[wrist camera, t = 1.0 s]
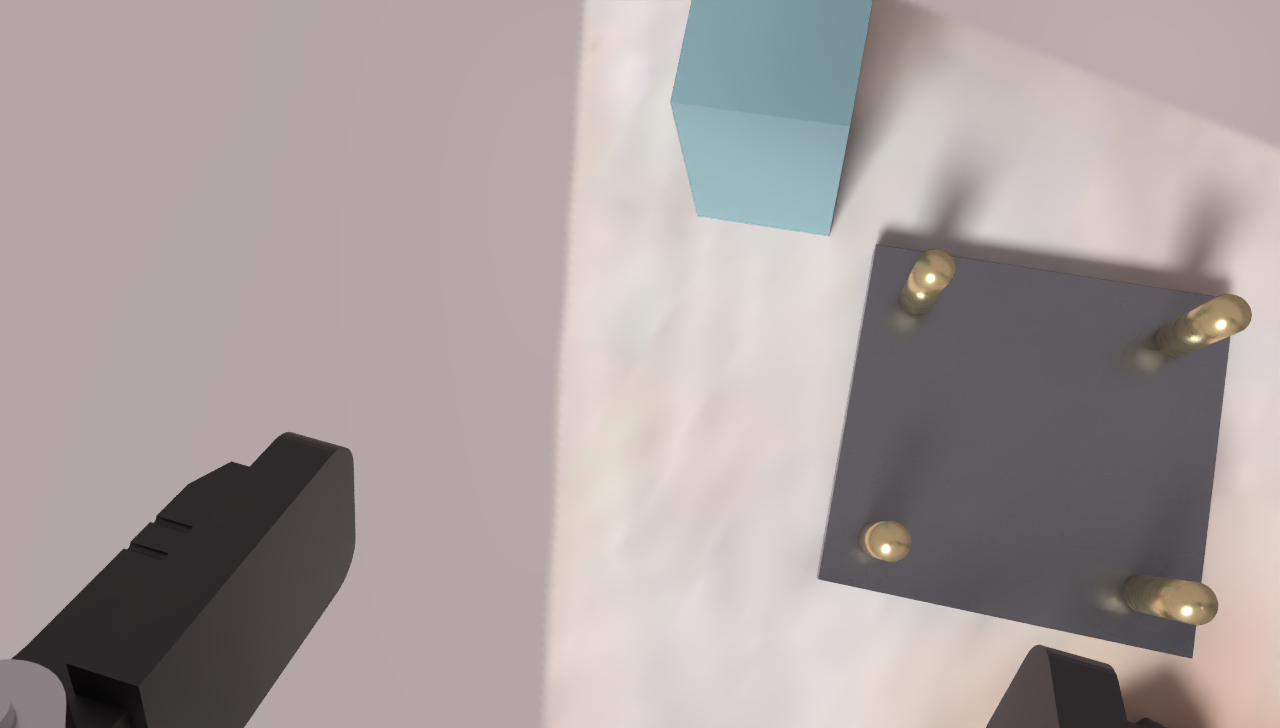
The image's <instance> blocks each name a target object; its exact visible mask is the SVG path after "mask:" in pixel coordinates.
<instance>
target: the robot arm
mask: <svg viewBox="0 0 1280 728" xmlns="http://www.w3.org/2000/svg"><path fill="white" fill-rule="evenodd" d="M353 467H354V466H353V456H352V453H351V451H350V450H349V449H348V448H345V447H342V446H338V445H335V444H331V443H327V442H323V441H320V440H317V439H313V438H310V437H306V436H302V435H299V434H295V433H292V432H286V433H284V434H282V435H281V436H279V437H278V438H277V439H275V440H274V441H273V443H272V444H271V445H270V446H269V447H268V448H267V449H266V450H265V451H264V452H263V453H262V454H261V455H260V456H259V457H258V459H257V460H256V461H255V462H254V463H253V464H252V465H251V466H250V467H248V466H245V465H241V464H238V463H234V462H230V463H228V464H226V465H224V466H222V467H220V468H218V469H217V470H215V471H213V472H211V473H209V474H207V475H205V476H203V477H201V478H199V479H197V480H195V481H194V482H191V483H190V484H188V485H187V486H186V487H185V488H184V489H183V490H182V491H181V492H180V493H179V494H178V495H177V496H176V497H175V498H174V499H173V500H172V501H171V502H170V503H169V504H168V505H167V506H166V507H165V508H164V509H163V510H162V511H161V512H160V513H159V514H158V515H157V517H156V520H155V522H154V523H151V522H150V523H149V524H148V525H147V526H146V527H145V528H144V529H143V530H142V531H141V532H140V533H139V534H138V535H137V536H136V537H135V538H134V539H133V540H132V541H131V543H130V546H129V548H128V549H127V550H126V549H123V550H122V551H121V552H120V553H119V554H118V555H117V556H116V557H115V558H114V559H113V560H112V561H111V562H110V563H109V564H108V565H107V566H106V567H105V568H104V569H103V570H102V571H101V572H100V573H99V574H98V575H97V576H96V577H95V578H94V579H93V580H92V581H91V582H90V583H89V584H88V585H87V586H86V587H85V588H84V589H83V590H82V591H81V592H80V593H79V594H78V595H77V596H76V597H75V598H74V599H73V600H72V601H71V602H70V603H69V604H68V605H67V606H66V607H65V608H64V609H63V610H62V611H61V612H60V613H59V614H58V615H57V616H56V617H55V618H54V619H53V620H52V621H51V622H50V623H49V624H48V625H47V626H46V627H45V628H44V629H43V630H42V631H41V632H40V633H39V634H38V635H37V636H36V637H35V638H34V639H33V640H32V641H31V642H30V643H29V644H28V645H27V646H26V647H25V648H24V649H22V650H21V651H20V652H19V653H18V654H17V655H16V656H14V657H13V658H12V659H10V660H0V728H244V726H245V725H246V724H247V722H248V721H249V719H250V718H251V716H252V715H253V714H254V712H255V711H256V709H257V708H258V706H259V705H260V704H261V702H262V701H263V699H264V698H265V696H266V695H267V693H268V692H269V690H270V689H271V688H272V686H273V685H274V683H275V682H276V680H277V679H278V677H279V676H280V674H281V673H282V672H283V670H284V669H285V667H286V666H287V664H288V663H289V661H290V660H291V659H292V657H293V656H294V654H295V653H296V651H297V650H298V649H299V647H300V645H301V644H302V643H303V641H304V640H305V638H306V637H307V635H308V634H309V632H310V631H311V630H312V628H313V627H314V625H315V624H316V622H317V621H318V619H319V618H320V616H321V615H322V614H323V612H324V611H325V609H326V608H327V607H328V605H329V604H330V602H331V601H332V599H333V598H334V596H335V595H336V593H337V592H338V590H339V589H340V587H341V585H342V583H343V582H344V579H345V577H346V575H347V573H348V570H349V567H350V564H351V561H352V558H353V553H354V548H355V503H354V468H353ZM986 728H1149V727H1146V726H1142V725H1139V724H1135V723H1132V722H1128V721H1127V718H1126V714H1125V709H1124V705H1123V700H1122V696H1121V691H1120V687H1119V682H1118V679H1117V675H1116V673H1115V671H1114V669H1113V668H1112V667H1111V666H1110V665H1109V664H1106V663H1102V662H1099V661H1095V660H1092V659H1088V658H1085V657H1081V656H1077V655H1074V654H1070V653H1067V652H1063V651H1060V650H1056V649H1053V648H1049V647H1045V646H1042V645H1036V646H1035V647H1033V648H1032V649H1031V650H1030V651H1029V653H1028V654H1027V656H1026V658H1025V659H1024V661H1023V663H1022V665H1021V666H1020V668H1019V670H1018V672H1017V673H1016V675H1015V677H1014V679H1013V681H1012V682H1011V684H1010V686H1009V688H1008V689H1007V691H1006V693H1005V695H1004V696H1003V698H1002V700H1001V702H1000V703H999V705H998V707H997V709H996V710H995V712H994V714H993V716H992V717H991V719H990V721H989V723H988V725H987V727H986Z"/></svg>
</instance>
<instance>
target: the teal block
mask: <svg viewBox="0 0 1280 728" xmlns="http://www.w3.org/2000/svg"><path fill="white" fill-rule="evenodd" d="M872 2H873V0H692V1H691V6H690V11H689V16H688V20H687V25H686V30H685V35H684V39H683V44H682V49H681V54H680V59H679V63H678V68H677V73H676V78H675V82H674V87H673V92H672V97H671V102H670V103H671V107H672V111H673V116H674V120H675V124H676V128H677V132H678V137H679V141H680V145H681V149H682V153H683V157H684V162H685V166H686V170H687V174H688V178H689V182H690V187H691V191H692V195H693V199H694V203H695V207H696V212H697V216H701V217H707V218H714V219H720V220H727V221H733V222H740V223H746V224H753V225H759V226H766V227H772V228H779V229H785V230H792V231H798V232H805V233H811V234H818V235H824V236H829V233H830V228H831V223H832V218H833V213H834V207H835V202H836V197H837V192H838V187H839V181H840V176H841V171H842V166H843V161H844V155H845V150H846V145H847V140H848V134H849V129H850V124H851V118H852V113H853V107H854V102H855V96H856V91H857V85H858V80H859V74H860V69H861V63H862V57H863V52H864V46H865V41H866V35H867V30H868V24H869V19H870V13H871V8H872Z"/></svg>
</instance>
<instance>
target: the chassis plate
mask: <svg viewBox="0 0 1280 728" xmlns="http://www.w3.org/2000/svg"><path fill="white" fill-rule="evenodd" d="M1251 317H1252V314H1251V309H1250V307H1249V305H1248V303H1247V302H1246V301H1245V300H1244V299H1242V298H1241V297H1239V296H1236V295H1233V294H1224V295H1221V296H1218V297H1214V296H1208V295H1201V294H1195V293H1188V292H1182V291H1175V290H1169V289H1162V288H1156V287H1149V286H1143V285H1136V284H1130V283H1123V282H1117V281H1110V280H1104V279H1097V278H1091V277H1084V276H1078V275H1071V274H1065V273H1058V272H1052V271H1045V270H1039V269H1032V268H1026V267H1019V266H1013V265H1006V264H1000V263H993V262H987V261H980V260H974V259H967V258H961V257H954V256H950V255H949V254H948V253H946V252H945V251H942V250H938V249H932V250H928V251H926V252H922V251H915V250H909V249H902V248H896V247H889V246H883V245H876V246H875V249H874V252H873V257H872V263H871V269H870V274H869V280H868V286H867V292H866V298H865V303H864V309H863V315H862V321H861V326H860V332H859V338H858V344H857V349H856V355H855V361H854V367H853V372H852V378H851V384H850V390H849V395H848V401H847V407H846V413H845V418H844V424H843V430H842V436H841V442H840V447H839V453H838V459H837V465H836V470H835V476H834V482H833V488H832V493H831V499H830V505H829V511H828V516H827V522H826V528H825V534H824V539H823V545H822V551H821V557H820V562H819V568H818V574H817V578H818V579H820V580H825V581H829V582H834V583H839V584H844V585H848V586H853V587H858V588H862V589H867V590H872V591H876V592H881V593H886V594H891V595H895V596H900V597H905V598H909V599H914V600H919V601H924V602H928V603H933V604H938V605H942V606H947V607H952V608H957V609H961V610H966V611H971V612H975V613H980V614H985V615H989V616H994V617H999V618H1004V619H1008V620H1013V621H1018V622H1022V623H1027V624H1032V625H1037V626H1041V627H1046V628H1051V629H1055V630H1060V631H1065V632H1069V633H1074V634H1079V635H1084V636H1088V637H1093V638H1098V639H1102V640H1107V641H1112V642H1117V643H1121V644H1126V645H1131V646H1135V647H1140V648H1145V649H1149V650H1154V651H1159V652H1164V653H1168V654H1173V655H1178V656H1182V657H1187V658H1192V656H1193V648H1194V639H1195V631H1196V625H1202V624H1206V623H1208V622H1210V621H1211V620H1212V619H1213V618H1214V617H1215V615H1216V613H1217V610H1218V601H1217V598H1216V595H1215V594H1214V592H1213V591H1212V590H1211V589H1210V588H1209V587H1208V586H1206V585H1204V584H1202V583H1201V580H1202V572H1203V563H1204V555H1205V546H1206V538H1207V529H1208V521H1209V512H1210V504H1211V495H1212V487H1213V478H1214V470H1215V461H1216V453H1217V444H1218V436H1219V428H1220V419H1221V411H1222V402H1223V394H1224V385H1225V377H1226V368H1227V360H1228V351H1229V343H1230V336H1231V335H1233V334H1236V333H1238V332H1240V331H1242V330H1244V329H1245V328H1246V327H1247V326H1248V325H1249V323H1250V321H1251Z"/></svg>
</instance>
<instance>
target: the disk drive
mask: <svg viewBox="0 0 1280 728" xmlns="http://www.w3.org/2000/svg"><path fill="white" fill-rule="evenodd" d="M1136 724H1139V725H1142V726H1146V727H1149V728H1167V727H1165V726H1163V725H1161V724H1159V723H1157V722H1154V721H1153V720H1151V719H1149V718H1143V719H1141V720H1140V721H1139V722H1137V723H1136Z"/></svg>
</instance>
